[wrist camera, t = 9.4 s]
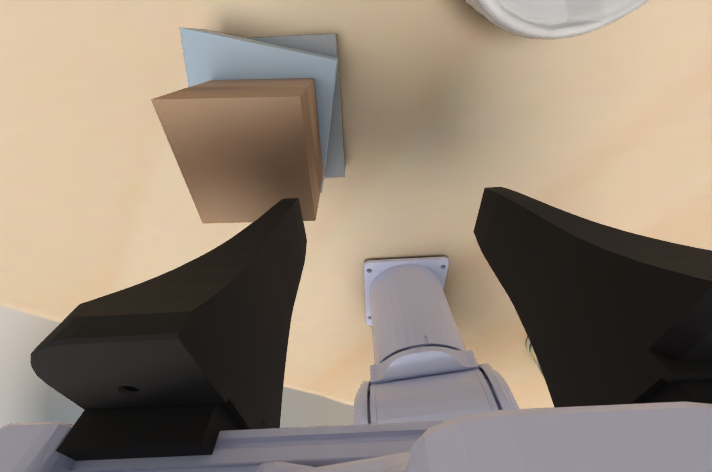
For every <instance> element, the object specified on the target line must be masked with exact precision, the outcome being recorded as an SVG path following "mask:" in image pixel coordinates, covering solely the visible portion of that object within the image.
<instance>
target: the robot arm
mask: <svg viewBox="0 0 712 472" xmlns="http://www.w3.org/2000/svg"><path fill="white" fill-rule="evenodd" d="M474 234H475V236H476V239H477V242H478V244H479V246H480V249H481V251H482V253H483V255H484V256H485V258H486V260H487V262H488V263H489V265H490V267H491V268H492V270H493V271H494V273H495V275H496V276H497V278H498V280H499V281H500V283H501V285H502V286H503V288H504V289H505V291H506V293H507V294H508V296H509V298H510V300H511V301H512V303H513V305H514V307H515V309H516V311H517V313H518V315H519V318H520V320H521V322H522V324H523V326H524V328H525V331H526V333H527V335H528V338H529V340H530V343H531V345H532V347H533V350H534V352H535V354H536V357H537V360H538V362H539V365H540V368H541V370H542V373H543V376H544V378H545V381H546V383H547V386H548V389H549V392H550V395H551V398H552V401H553V404H554V407H555V408H534V409H519V407H518V405H517V403H516V400H515V398H514V396H513V394H512V392H511V390H510V388H509V386H508V385H507V383H506V381H505V380H504V378H503V377H502V376H501V375H500V374H499V373H498V372H497V371H495V370H494V369H493V368H492V367H491V366H489V365H488V364H480V365H478V364H477V362H476V359H475V357H474V354H473V352H472V350H466V349H465V347H464V344H463V341H462V339H461V336H460V333H459V331H458V328H457V325H456V323H455V320H454V318H453V315H452V312H451V310H450V307H449V304H448V302H447V299H446V296H445V294H444V291H443V290H444V285H445V280H446V275H447V270H448V265H449V260H448V258H447V257H424V258H405V259H385V260H368V261H366V262H365V263H364V282H365V307H366V324H367V325H369V326H372V336H373V349H374V361H375V365H371V366H370V375H371V381H364V382H363V383H362V384H361V386H360V388H359V390H358V391H357V393H356V396H355V401H354V425H338V426H315V427H294V428H280V416H281V403H282V392H283V382H284V372H285V362H286V354H287V345H288V337H289V330H290V322H291V316H292V311H293V306H294V302H295V298H296V294H297V290H298V286H299V282H300V278H301V274H302V270H303V266H304V262H305V254H306V244H307V239H306V233H305V228H304V223H303V218H302V213H301V208H300V202H299V198H287V199H282V200H280V201H279V202H278V203H276V204H275V205H274V206H273V207H271V208H270V209H269V210H268V211H267V212H265V213H264V214H263V215H262V216H261V217H259V218H258V219H257V220H256V221H254V222H253V223H252V224H250V225H249V226H248V227H246V228H245V229H244V230H242V231H241V232H239V233H238V234H237V235H235V236H234V237H232V238H231V239H229V240H228V241H226V242H225V243H223V244H222V245H220V246H218V247H217V248H215V249H213V250H211V251H210V252H208V253H206V254H204V255H202V256H200V257H198V258H196V259H194V260H192V261H190V262H188V263H186V264H184V265H182V266H180V267H178V268H176V269H174V270H172V271H169V272H167V273H165V274H162V275H160V276H158V277H155V278H153V279H150V280H148V281H145V282H143V283H140V284H138V285H135V286H132V287H130V288H127V289H124V290H121V291H118V292H115V293H112V294H109V295H106V296H103V297H100V298H97V299H94V300H91V301H88V302H85V303H82V304H80V305H78V306H77V307H76V308H75V309H74V310H73V311H72V312H71V313H70V314H69V315H68V316H67V317H66V318H65V319H64V321H63V322H62V323H61V324H60V325H59V326H58V327H57V328H56V329H54V330H53V332H51V334H49V336H47V337H46V338H45V339H44V340H43V341H42V342H41V343H40V344H39V345H38V346H37V348H36V349H35V350H34V351H33V352H32V353H31V366H32V368H33V370H34V371H35V373H36V375H37V376H38V377H40V378H41V379H42V380H43V381H44V382H46V383H47V384H48V385H49V386H51V387H52V388H54V389H55V390H57V391H58V392H59V393H61V394H63V395H64V396H65V397H67V398H68V399H70V400H71V401H73V402H74V403H76V404H77V405H78V406H80V407H82V408H83V409H84V410H85V411H84V412H83V413H82V415H81V416H80V418H79V419H78V420H77V422H76V423H75V425H72V424H67V423H63V422H39V423H16V424H8V425H5V426H3V427H2V428H1V429H0V472H712V251H711V250H705V249H700V248H694V247H690V246H685V245H680V244H675V243H670V242H666V241H662V240H658V239H653V238H649V237H645V236H641V235H637V234H633V233H629V232H626V231H622V230H619V229H616V228H612V227H609V226H606V225H602V224H599V223H596V222H593V221H590V220H587V219H584V218H581V217H579V216H576V215H573V214H570V213H568V212H565V211H563V210H560V209H557V208H555V207H552V206H550V205H547V204H545V203H543V202H540V201H538V200H535V199H533V198H530V197H528V196H526V195H523V194H521V193H518V192H515V191H512V190H510V189H506V188H503V187H492V188H485V189H484V193H483V197H482V201H481V205H480V209H479V213H478V217H477V220H476V224H475V228H474ZM442 265H444V266H442ZM367 269H371V270H367Z"/></svg>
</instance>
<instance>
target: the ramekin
mask: <svg viewBox="0 0 712 472" xmlns="http://www.w3.org/2000/svg"><path fill="white" fill-rule="evenodd" d="M465 1H466V2H467V3H468V4H469V5H471V6H472V7H473V8H474V9H475V11H477V12H478V13H480V14H482V15H484V16H485V17H486V18H487V19H488V20H489V21H490V22H492V23H493V24H494V25H496V26H498V27H499V28H501V29H503V30H505V31H507V32H510V33H512V34H514V35H518V36H522V37H526V38H532V39H560V38H568V37H573V36H578V35H582V34H585V33H588V32H591V31H594V30H597V29H599V28H602V27H604V26H606V25H609V24H611V23H613V22H615V21H617V20H619V19H621V18H623V17H624V16H626V15H628V14H629V13H631V12H633V11H634V10H636V9H637V8H639V7H641V6H642V5H644V4H645V3H646V2H648V1H649V0H465Z"/></svg>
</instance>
